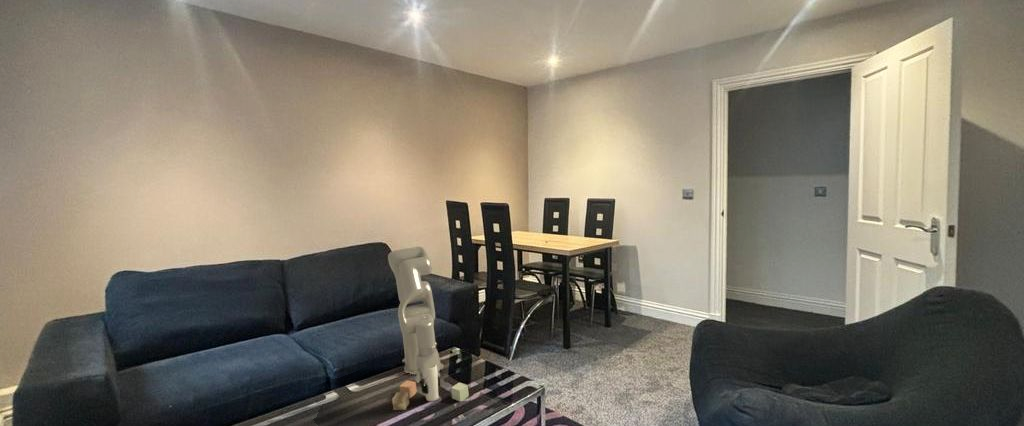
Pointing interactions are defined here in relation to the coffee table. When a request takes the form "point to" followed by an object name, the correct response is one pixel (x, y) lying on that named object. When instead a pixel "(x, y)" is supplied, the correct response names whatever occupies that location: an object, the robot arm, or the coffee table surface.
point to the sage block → (459, 391)
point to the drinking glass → (432, 384)
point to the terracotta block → (408, 388)
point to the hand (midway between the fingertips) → (431, 388)
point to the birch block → (400, 401)
